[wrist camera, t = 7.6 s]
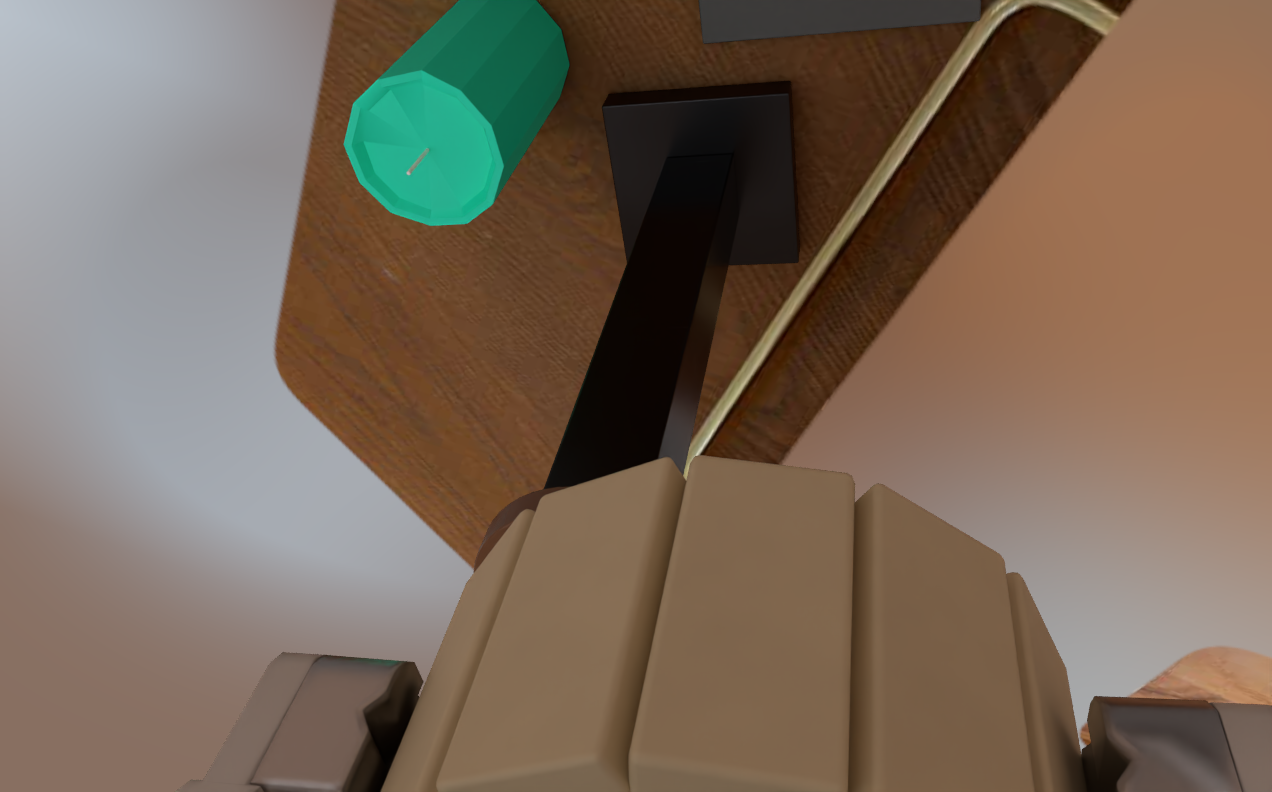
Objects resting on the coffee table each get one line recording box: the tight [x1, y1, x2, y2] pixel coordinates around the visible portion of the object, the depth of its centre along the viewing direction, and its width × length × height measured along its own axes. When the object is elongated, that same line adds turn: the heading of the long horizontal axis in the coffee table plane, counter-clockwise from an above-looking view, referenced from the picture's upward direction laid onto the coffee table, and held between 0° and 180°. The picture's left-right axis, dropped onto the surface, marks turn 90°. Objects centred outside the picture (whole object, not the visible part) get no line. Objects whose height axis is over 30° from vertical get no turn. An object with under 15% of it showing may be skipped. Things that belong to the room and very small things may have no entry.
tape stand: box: [474, 81, 800, 572], centre depth 36 cm, size 8×8×31 cm
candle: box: [344, 0, 570, 226], centre depth 42 cm, size 6×6×12 cm
